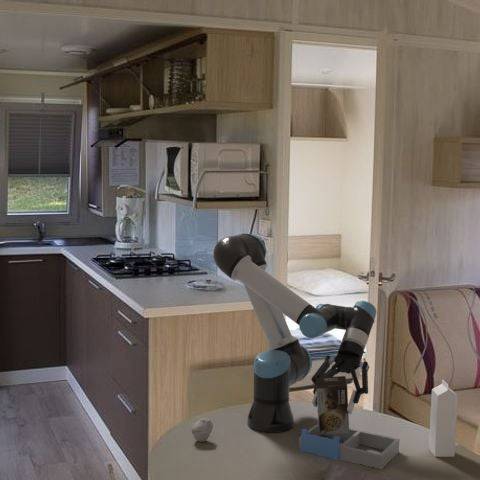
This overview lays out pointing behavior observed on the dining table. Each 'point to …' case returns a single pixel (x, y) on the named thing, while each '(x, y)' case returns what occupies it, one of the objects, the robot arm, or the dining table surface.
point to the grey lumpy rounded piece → (202, 429)
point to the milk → (443, 421)
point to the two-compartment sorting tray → (350, 446)
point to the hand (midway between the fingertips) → (331, 408)
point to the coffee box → (332, 405)
